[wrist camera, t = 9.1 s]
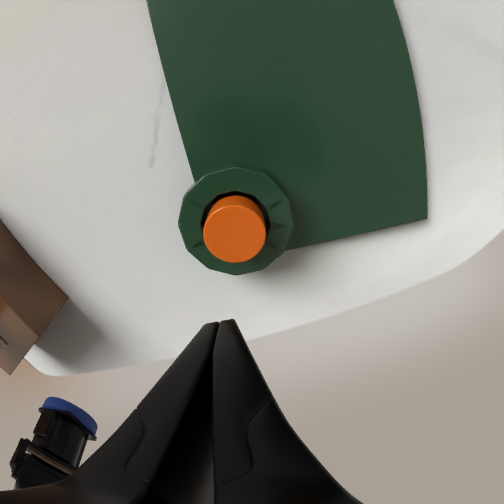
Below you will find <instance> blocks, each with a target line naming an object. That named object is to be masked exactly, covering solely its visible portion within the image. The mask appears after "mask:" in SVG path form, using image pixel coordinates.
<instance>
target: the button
mask: <svg viewBox="0 0 504 504" xmlns="http://www.w3.org/2000/svg"><path fill="white" fill-rule="evenodd" d="M203 237H204V242H205V244H206V246H207V248H208V249H209V251H210V252H211V253H212V254H213V255H214V256H216V257H217V258H219V259H221V260H223V261H226V262H231V263H239V262H244V261H247V260H249V259H251V258H253V257H254V256H256V255H257V254H258V253H259V252H260V250H261V249H262V247H263V245H264V243H265V239H266V229H265V223H264V217H263V213H262V211H261V209H260V208H259V206H258V205H257V204H256V203H255V202H253V201H252V200H250V199H248V198H246V197H243V196H228V197H225V198H222V199H220V200H219V201H217V202H216V203H215V204H214V205H213V206H212V208H211V209H210V211H209V214H208V217H207V219H206V222H205V225H204V230H203Z"/></svg>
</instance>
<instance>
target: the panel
mask: <svg viewBox="0 0 504 504" xmlns="http://www.w3.org/2000/svg"><path fill="white" fill-rule="evenodd" d="M67 299H68V297H67V296H66V295H65V294H64V293H63V292H62V291H61V290H60V289H59V288H58V286H57V285H56V284H55V283H54V282H53V281H52V280H51V279H50V278H49V277H48V276H47V275H46V274H45V273H44V272H43V271H42V270H41V268H40V267H39V266H38V265H37V264H36V263H35V262H34V261H33V260H32V258H31V257H30V256H29V255H28V254H27V253H26V251H25V250H24V249H23V248H22V247H21V246H20V244H19V243H18V242H17V241H16V240H15V238H14V237H13V236H12V235H11V233H10V232H9V231H8V230H7V228H6V227H5V226H4V224H3V223H2V222H1V220H0V367H1V368H2V369H3V370H4V371H5V372H7V373H8V374H9V375H11V374H12V372H13V371H14V369H15V368H16V367H17V366H18V364H19V363H20V362H21V360H22V359H23V358H24V356H25V355H26V354H27V352H28V351H29V350H30V349H31V347H32V346H33V345H34V344H35V342H36V341H37V340H38V339H39V337H40V336H41V335H42V333H43V332H44V330H45V329H46V327H47V326H48V325H49V323H50V322H51V320H52V319H53V318H54V316H55V315H56V314H57V312H58V311H59V309H60V308H61V307H62V305H63V304H64V303H65V302H66V300H67Z"/></svg>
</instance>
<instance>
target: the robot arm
mask: <svg viewBox="0 0 504 504" xmlns="http://www.w3.org/2000/svg"><path fill="white" fill-rule="evenodd" d="M39 412H40V413H41V416H40V418H39V420H38V422H37V424H36V427H35V429H34V431H33V433H34V434H35V435H34V437H33V440H32V442H31V441H30V440H29V439H27V438H26V440H25V439H22V438H21V439H20V441H19V444H18V446H17V448H16V450H15V452H14V454H13V457H12V459H11V461H10V467H11V469H12V471H11V472H12V475H11V477H12V478H14V479H15V480H16V483H15V486H14V489H13V490H7V491H0V504H363V503H362V502H360V501H359V500H357V499H356V498H355V497H353V496H352V495H351V494H350V493H349V492H348V491H346V490H345V489H344V488H343V487H342V486H341V485H340V484H339V483H338V482H337V481H336V480H335V479H334V478H333V477H332V476H331V474H330V473H329V472H328V471H327V470H326V469H325V468H324V466H323V465H322V464H321V463H320V462H319V461H318V459H317V458H316V457H315V456H314V455H313V454H312V452H311V451H310V450H309V449H308V448H307V446H306V445H305V444H304V443H303V442H302V440H301V439H300V438H299V436H298V435H297V434H296V433H295V431H294V430H293V428H292V427H291V426H290V424H289V423H288V421H287V419H286V418H285V416H284V415H283V413H282V411H281V409H280V408H279V406H278V404H277V402H276V400H275V398H274V397H273V395H272V393H271V391H270V389H269V387H268V385H267V383H266V381H265V379H264V378H263V376H262V374H261V372H260V370H259V368H258V366H257V364H256V362H255V360H254V358H253V356H252V354H251V352H250V350H249V348H248V346H247V344H246V342H245V340H244V338H243V336H242V334H241V332H240V330H239V328H238V326H237V323H236V321H235V320H234V319H230V320H224V321H221V322H220V323H219V322H213V323H207V324H205V325H204V326H203V327H202V328H201V329H200V331H199V332H198V333H197V334H196V336H195V337H194V338H193V339H192V340H191V342H190V343H189V344H188V345H187V347H186V348H185V349H184V350H183V351H182V353H181V354H180V355H179V356H178V358H177V359H176V360H175V361H174V363H173V364H172V365H171V366H170V367H169V369H168V370H167V371H166V372H165V373H164V375H163V376H162V377H161V378H160V379H159V381H158V382H157V383H156V384H155V386H154V387H153V388H152V389H151V390H150V392H149V393H148V394H147V395H146V397H145V398H144V399H143V400H142V401H141V403H140V404H139V405H138V406H137V409H135V410H134V411H133V412H132V413H131V414H130V416H129V417H128V418H127V419H126V420H125V421H124V423H123V424H122V425H121V426H120V427H119V428H118V429H117V431H116V432H115V433H114V434H113V435H112V436H111V437H110V438H109V439H108V440H107V441H106V442H105V443H104V444H103V445H102V446H101V447H100V448H99V449H98V450H97V451H96V452H95V453H94V454H92V455H91V457H89V458H88V459H87V460H86V461H85V462H84V463H83V464H82V465H81V466H80V467H79V464H80V461H81V458H82V455H83V452H84V449H85V446H86V443H87V440H92V441H96V439H97V438H96V437H95V436H94V435H93V434H92V433H91V432H90V431H89V430H88V429H87V428H86V427H85V426H84V425H83V424H82V423H81V422H80V421H79V420H78V419H77V418H76V417H75V416H74V415H73V414H72V413H71V412H69V411H64V410H56V409H48V408H41V407H40V408H39ZM26 451H27V452H29V453H31V455H30V454H29V453H26ZM78 467H79V468H78Z"/></svg>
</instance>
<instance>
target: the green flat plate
mask: <svg viewBox="0 0 504 504" xmlns="http://www.w3.org/2000/svg"><path fill="white" fill-rule="evenodd" d="M146 1H147V6H148V10H149V14H150V18H151V23H152V27H153V31H154V35H155V39H156V43H157V47H158V51H159V55H160V59H161V63H162V67H163V71H164V75H165V78H166V82H167V86H168V90H169V94H170V97H171V101H172V105H173V108H174V112H175V116H176V119H177V123H178V126H179V130H180V133H181V137H182V140H183V144H184V147H185V151H186V154H187V158H188V161H189V165H190V168H191V171H192V175H193V178H194V181H195V183H194V184H193V185H192V186H191V187H190V188H189V190H188V191H187V192H186V194H185V195H184V197H183V202H182V206H181V211H180V215H179V220H178V226H179V229H180V232H181V235H182V238H183V241H184V243H185V246H186V249H187V250H188V252H190V253H191V254H192V255H193V256H194V257H195V258H196V259H198V260H199V261H200V262H201V263H202V264H203V265H204V266H206V267H207V268H209V269H211V270H215V271H219V272H223V273H227V274H231V275H241V274H245V273H250V272H255V271H259V270H262V269H264V268H265V267H267V266H268V265H269V264H270V263H272V262H273V261H274V260H275V259H276V258H278V257H279V256H280V255H281V254H282V253H283V252H284V251H286V250H290V249H295V248H299V247H304V246H308V245H313V244H317V243H322V242H326V241H331V240H335V239H340V238H344V237H349V236H353V235H357V234H362V233H366V232H371V231H375V230H380V229H384V228H388V227H393V226H397V225H402V224H406V223H410V222H415V221H419V220H423V219H427V178H426V162H425V150H424V140H423V131H422V123H421V116H420V109H419V103H418V97H417V91H416V86H415V81H414V76H413V71H412V66H411V62H410V58H409V54H408V50H407V46H406V42H405V38H404V35H403V31H402V28H401V24H400V21H399V18H398V15H397V12H396V9H395V6H394V3H393V0H146ZM228 196H243V197H246V198H248V199H250V200H252V201H253V202H255V203H256V204H257V205H258V206H259V208H260V209H261V211H262V213H263V217H264V223H265V229H266V239H265V243H264V245H263V247H262V249H261V250H260V252H259V253H258V254H257V255H256V256H254V257H253V258H251V259H249V260H247V261H244V262H239V263H231V262H226V261H223V260H221V259H219V258H217V257H216V256H214V255H213V254H212V253H211V252H210V251H209V249H208V248H207V246H206V244H205V242H204V237H203V230H204V225H205V222H206V219H207V217H208V214H209V211H210V209H211V208H212V206H213V205H214V204H215V203H216V202H217V201H219V200H220V199H222V198H225V197H228Z"/></svg>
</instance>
